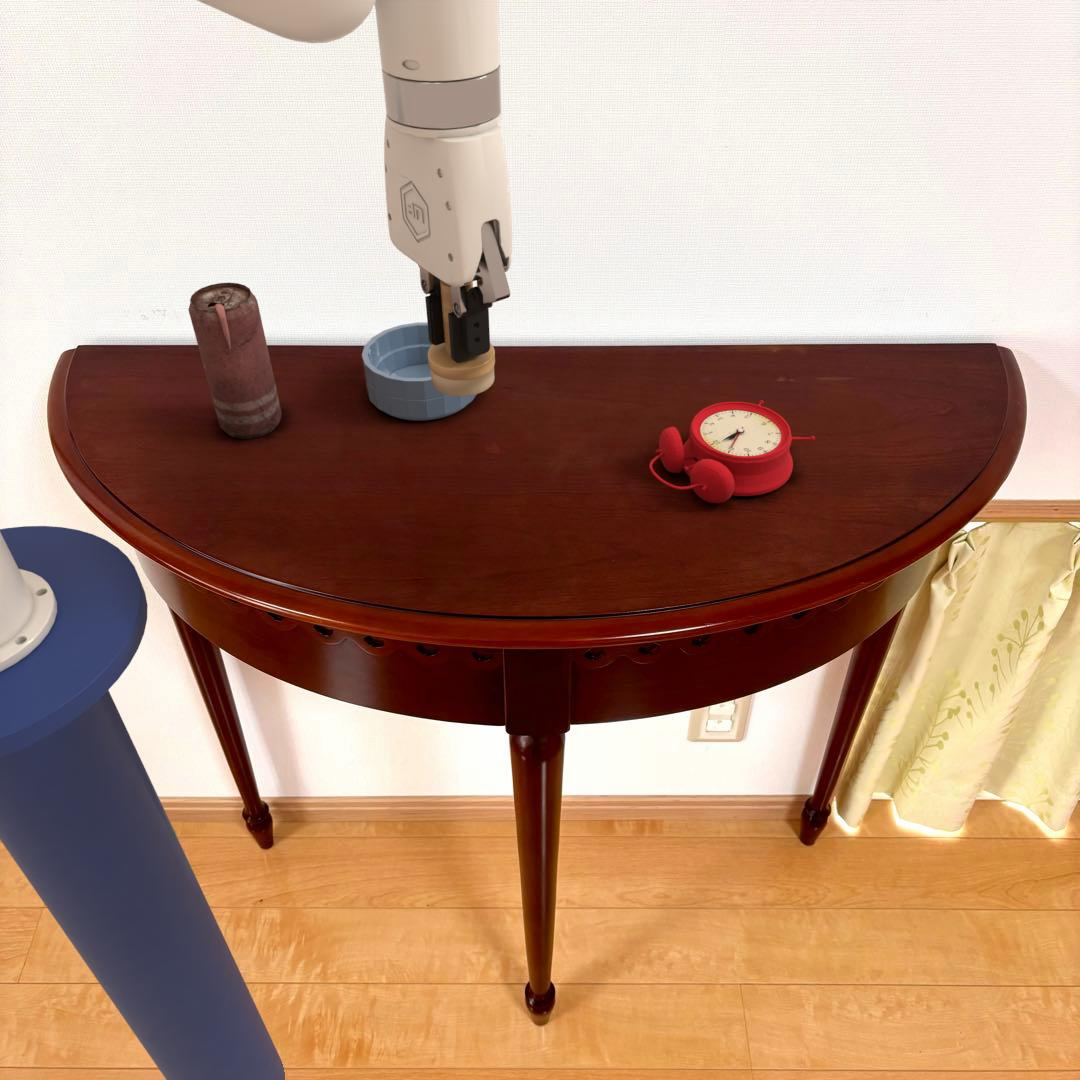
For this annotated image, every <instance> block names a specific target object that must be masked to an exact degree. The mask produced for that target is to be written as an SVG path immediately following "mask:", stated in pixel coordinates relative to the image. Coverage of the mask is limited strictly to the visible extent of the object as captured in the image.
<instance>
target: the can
mask: <svg viewBox="0 0 1080 1080" xmlns="http://www.w3.org/2000/svg"><path fill="white" fill-rule="evenodd" d="M189 302H190V303H189V305H188V306H189V307H188V309H187V310H188V313H189V317H190V321H191V325H192V328H193V332H194V336H195V339H196V343H197V346H198V350H199V354H200V355H199V356H200V358H201V362H202V367H203V369H204V373H205V376H206V380H207V382H208V388H209V391H210V395H211V399H212V402H213V403H212V404H213V407H214V410H215V413H216V417H217V421H218V424H219V428H220V429H221V430H222V431H224V432H225V434H227V435H229V436H230V437H233V438H235V439H241V440H242V439H244V440H245V439H246V440H248V439H256V438H260V437H264V436H265V435H267V434H270V433H271V432H272V431H274V430H275V429H276V428H277V427H278V425H279V424H280V422H281V419H282V415H283V414H282V409H281V404H280V399H279V395H278V390H277V385H276V380H275V376H274V371H273V367H272V362H271V359H270V352H269V349H268V343H267V339H266V334H265V330H264V326H263V321H262V320H263V319H262V316H261V312H260V307H259V302H258V299H257V298H256V295H254V293H253V292H252V290H251V288H250V287H248V286H246V285H245V284H241V283H237V282H217V283H213V284H209V285H207V286H204V287H203V286H202V287H201V288H199V289H198V290H196V291H195V292H193V294H191V296H190V299H189Z"/></svg>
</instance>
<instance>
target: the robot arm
mask: <svg viewBox="0 0 1080 1080" xmlns="http://www.w3.org/2000/svg"><path fill="white" fill-rule="evenodd" d="M196 1H197V2H200V3H201V4H203V5H205V6H209V7H211V8H213V9H216V10H218V11H220V12H222V13H224V14H227V15H229V16H231V17H233V18H235V19H238V20H240V21H242V22H245V23H247V24H249V25H251V26H254V27H256V28H258V29H261V30H263V31H265V32H268V33H271V34H273V35H276V36H278V37H281V38H283V39H287V40H291V41H293V42H299V43H305V44H306V43H307V44H326V43H331V42H334V41H337V40H341V39H342V38H345V37H346V36H349V35H350V34H352V33H353V32H354V31H356V30H357V28H359V27H360V26H361V25H362V24H363V23H364V22H365V20H366V19H367V18H368V16H370V14H371V12H372V10H373V8H375V18H376V28H377V37H378V46H379V48H378V49H379V57H380V66H381V75H382V76H381V77H382V84H383V85H382V86H383V94H384V102H385V121H384V138H383V139H384V140H383V160H384V161H383V162H384V189H385V201H386V215H387V226H388V227H387V228H388V234H389V239H390V241H391V243H392V245H393V246H394V247H395V248H396V249H397V250H398V251H399V252H400V253H401V254H402V255H404V256H406V257H407V258H409V259H410V260H411V261H412V262H414V263H415V264H417V265H418V268H419V279H420V287H421V290H422V292H423V294H425V295H427V296H424V298H425V299H424V300H425V310H426V322H427V323H428V334H429V341H430V342H431V343H432V344H433V345H439V344H442V343H445V337H444V324H443V311H442V299H441V286H440V280H442V281H443V282H445V283H446V284H448V285H450V286H451V296H452V306H453V311H454V312H451V313H448V320H449V334H450V348H451V358H452V359H453V360H454V361H455V362H456V363H460V362H463V361H465V360H468V359H471V358H474V357H476V356H479V355H482V354H485V353H487V352H488V351H489V350H490V343H491V333H490V331H491V330H490V311H489V309H490V308H492V307H493V305H494V304H493V303H497V302H500V301H503V300H506V299H509V298H510V296H511V291H510V286H509V283H508V279H507V275H506V272H508V271H509V270H510V268H511V265H512V260H513V259H512V258H513V216H512V203H511V193H510V192H511V191H510V181H509V173H508V165H507V158H506V151H505V144H504V140H503V132H502V127H501V126H500V123H501V122H502V120H503V119H502V117H503V115H502V113H503V112H502V80H501V78H502V77H501V75H502V74H501V44H500V43H501V41H500V16H499V0H196ZM469 282H473V283H474V282H476V286H473V288H470V289H469V290H468V292H467V293H466V289H465V284H466V283H469ZM56 614H57V601H56V598H55V595H54V593H53V591H52V589H51V587H50V586H49V584H48V583H47V582H46V581H45V580H44V579H43V578H42V577H40V576H38V575H36V574H34V573H32V572H29V571H26V570H22V569H19V568H18V566H17V564H16V562H15V560H14V558H13V556H12V554H11V552H10V550H9V548H8V546H7V544H6V542H5V540H4V538H3V536H2V534H1V532H0V672H1V671H3V670H5V669H7V668H8V667H10V666H12V665H14V664H16V663H17V662H18V661H20V660H21V659H23V658H24V657H25V656H27V655H28V654H29V653H31V652H32V651H33V650H34V649H35V648H36V647H37V646H38V645H39V644H40V643H41V642H42V641H43V639H44V638H45V637H46V636H47V634H48V633H49V631H50V630H51V628H52V626H53V624H54V622H55V618H56Z"/></svg>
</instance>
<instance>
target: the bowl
mask: <svg viewBox="0 0 1080 1080" xmlns="http://www.w3.org/2000/svg"><path fill="white" fill-rule="evenodd" d="M432 345H433V344H432V343H431V342H430V341H429V334H428V322H427V321H426V322H421V321H419V322H412V323H405V324H399V325H397V326H393V327H390V328H386V329H384V330H382V331H380V332H379V333H377V334H376V335H374V336H372V337H371V338H370V339H369V340H368V341H367V342H366V343H365V344H364V345H363V350H362V353H361V360H362V367H363V373H364V380H365V388H366V393H367V396H368V399H369V401H370V402H371V403H372V405H374V406H375V408H377V409H378V410H380V411H382V412H383V413H385V414H386V415H389V416H391V417H394V418H397V419H401V420H406V421H417V422H418V421H422V422H423V421H432V420H438V419H442V418H446V417H450V416H452V415H453V414H456V413H458V412H460V411H461V410H463V409H464V408H466V407H467V406H468V405H469V404H471V403H472V402H473V401H474V399H475V398H476V397H477V395H478V394H475V395H470V396H452V395H447V394H444V393H442V392H440V391H438V390H437V389H436V388H435V387H434V386H433V384H432V381H431V370H430V368H429V363H428V351H429V349H430V347H431V346H432Z"/></svg>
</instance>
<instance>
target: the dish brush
mask: <svg viewBox="0 0 1080 1080" xmlns="http://www.w3.org/2000/svg"><path fill="white" fill-rule="evenodd" d="M440 286H441V299H442V311H443V324H444V337H445V343H442V344H439V345H432V346H431V347H430V349H429V351H428V363H429V368H430V370H431V381H432V384H433V386H434V387H435V388H436V389H437V390H438V391H440V392H442V393H444V394H447V395H452V396H470V395H475V394H477V395H478V394H481V393H483V392H485V391H487V390H489V388H490V387H492V386H493V384H494V382H495V378H496V377H495V364H496V350H495V348H494V345H493V344H492V343H491V342H490V350H489V351H488V352H487V353H485V354H482V355H479V356H476V357H474V358H471V359H468V360H465V361H463V362H460V363H456V362H455V361H454V360H453V359H452V358H451V348H450V334H449V320H448V313H451V312H454V311H453V306H452V296H451V286H450V285H448V284H446V283H445V282H443V281H442V280H440ZM473 287H474V281H473V282H469V283H466V284H465V289H466V293H467V292H468V290H469V289H470V288H473Z"/></svg>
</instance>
